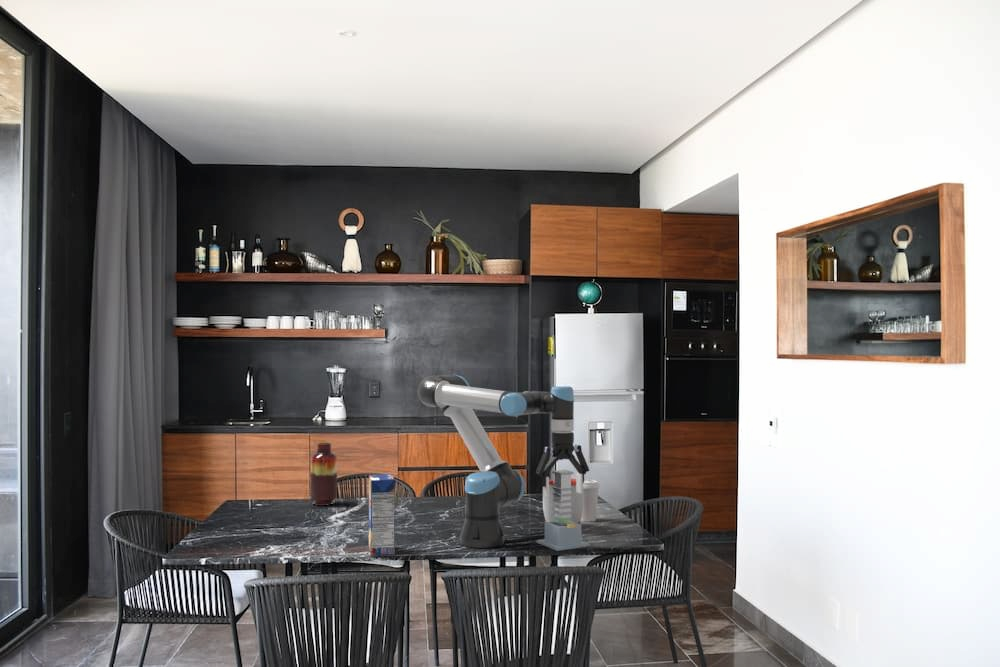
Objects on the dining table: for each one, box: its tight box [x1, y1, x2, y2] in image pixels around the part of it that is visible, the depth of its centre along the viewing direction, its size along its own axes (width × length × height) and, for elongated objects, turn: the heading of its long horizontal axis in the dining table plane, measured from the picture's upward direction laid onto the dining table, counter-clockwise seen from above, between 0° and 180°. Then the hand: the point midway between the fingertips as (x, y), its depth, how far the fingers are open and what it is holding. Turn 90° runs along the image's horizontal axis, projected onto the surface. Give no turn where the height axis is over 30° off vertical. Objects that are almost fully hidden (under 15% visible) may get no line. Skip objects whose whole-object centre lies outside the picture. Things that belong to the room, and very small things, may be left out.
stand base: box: [536, 521, 591, 552], centre depth 261 cm, size 13×13×8 cm
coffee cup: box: [581, 479, 601, 523], centre depth 300 cm, size 10×10×15 cm
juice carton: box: [368, 473, 396, 557], centre depth 252 cm, size 12×8×24 cm, turn 13°
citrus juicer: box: [542, 478, 583, 524], centre depth 288 cm, size 16×17×20 cm
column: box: [551, 469, 574, 526], centre depth 261 cm, size 5×5×18 cm
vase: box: [310, 441, 338, 505], centre depth 332 cm, size 11×11×26 cm
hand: (562, 494), depth 261 cm, fingers open, 13 cm apart
